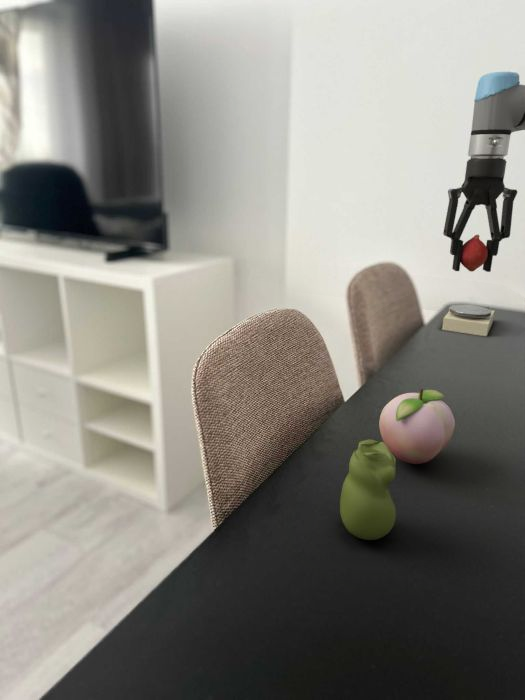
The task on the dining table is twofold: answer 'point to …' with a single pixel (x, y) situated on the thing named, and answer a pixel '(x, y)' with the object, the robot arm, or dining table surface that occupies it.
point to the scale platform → (470, 311)
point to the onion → (474, 253)
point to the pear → (369, 491)
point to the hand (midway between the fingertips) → (471, 270)
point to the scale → (468, 324)
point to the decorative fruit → (416, 426)
